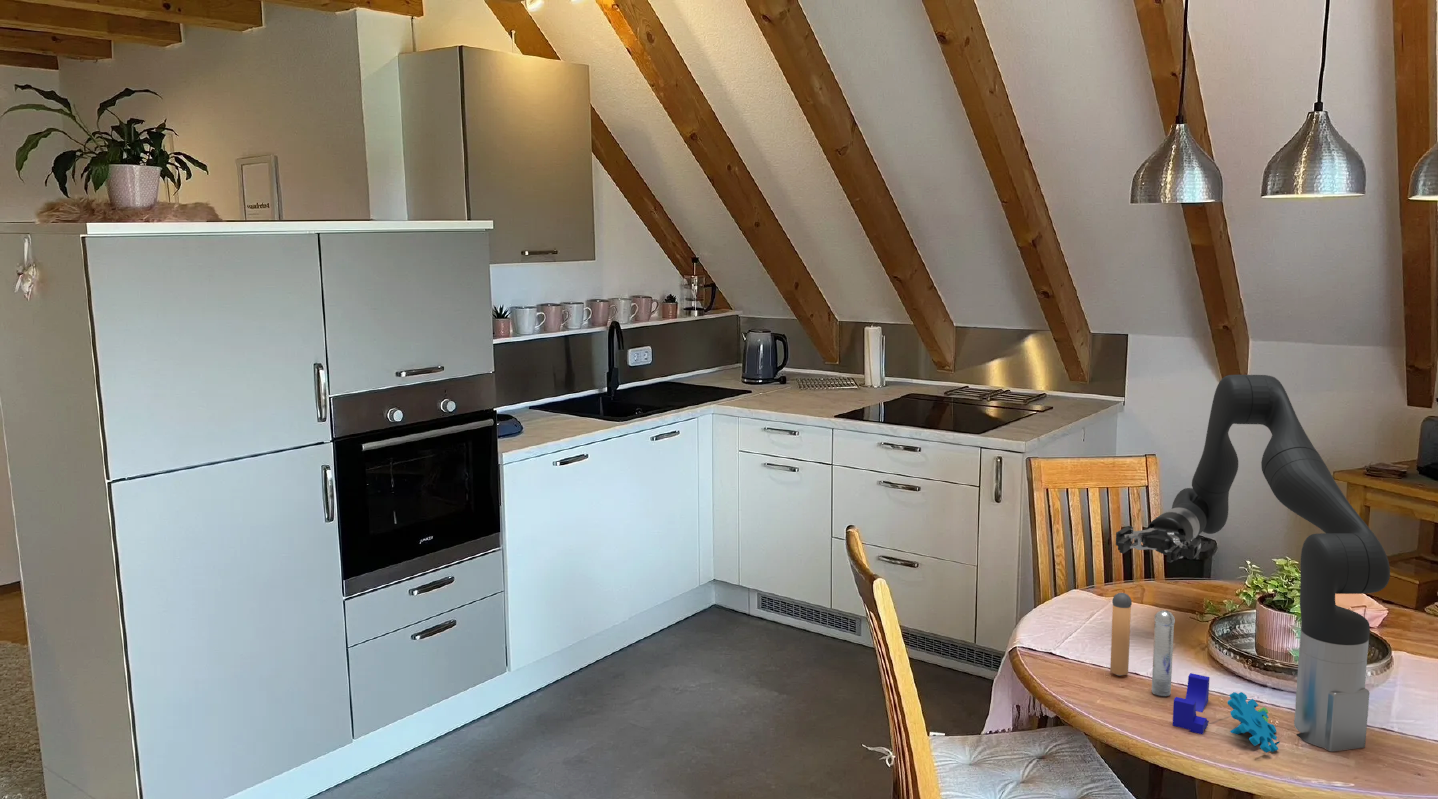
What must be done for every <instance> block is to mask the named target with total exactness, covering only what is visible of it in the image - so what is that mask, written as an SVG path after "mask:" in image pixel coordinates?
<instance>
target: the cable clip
mask: <svg viewBox="0 0 1438 799" xmlns="http://www.w3.org/2000/svg"><path fill="white" fill-rule="evenodd" d="M1209 692H1210V676H1207V675H1200V674H1196V673H1192V672H1191V673H1189V675H1188V677H1187V687H1186V692H1185V693H1186V694H1185V698H1182V697H1178V696H1175V697H1174V699H1173V707H1172V709H1173V711H1172V727H1177V728H1180V729H1186V730H1188V731H1189V732H1191V733H1194V734H1198V735H1202V736H1203V735H1204V733H1205V730H1206V729H1207V727H1208V725H1209V722H1210V721H1209V720H1208V718H1207V717H1202V716H1199V715H1197V712H1198V713H1203V712H1204V710H1205V709H1206V706H1207V704H1208V702H1209V696H1210V693H1209Z"/></svg>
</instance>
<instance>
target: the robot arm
mask: <svg viewBox="0 0 1438 799" xmlns="http://www.w3.org/2000/svg"><path fill="white" fill-rule="evenodd" d="M1211 404H1212V405H1211V409H1210V414H1209V419H1208V425H1207V429H1206V430H1207V431H1206V435H1205V440H1204V442H1205V443H1204V446H1203V451H1202V454H1201V457H1200V459H1199V461H1198V465H1197V467H1196V469H1195V472H1194V474H1193V476H1192V480H1191V487H1187V488H1186V487H1185V488H1183V489H1182V490H1180V491H1179V492H1178V493H1177V494H1176V496H1175V497H1174V500H1173V502H1172V505H1171V509H1168V510H1166V511H1164V512H1163V513H1160V515H1159V516H1157V517H1155V518H1154V519H1152V521H1151V522H1150V523H1149V524H1148V525H1147V527H1146V529H1141V530H1134V527H1133V526H1132V525H1127V526H1125V527H1123V528H1122V529H1119V530H1118V531H1116V533H1115V546H1117V550H1118V551H1119V554H1125V553H1127V552H1128V551H1129V550H1131V549H1136V550H1137V551H1143V550H1145V551H1146V550H1151V551H1156V552H1158V553H1159V554H1163V555H1165V556H1166V562H1167V563H1173V562H1174V561H1178V560H1179V559H1184V557H1186V558H1187V559H1188V560H1194V559H1195V558H1197V556H1198V555H1199V554H1200V552H1201V549H1202V548H1201V547H1202V538H1201V537H1198V536H1200V535H1201V534H1202V533H1204V534H1206V535H1207V534H1208V535H1212V534H1217V533H1218V532H1219V531H1221V530H1222V529H1223V528H1224V527H1225V525H1226V523H1227V520H1228V517H1229V509H1230V508H1229V495H1230V494H1229V493H1230V490H1231V488H1232V486H1233V483H1234V481H1235V478H1236V476H1237V473H1238V471H1239V458H1238V454H1237V451H1236V449H1235V446H1234V445H1233V442H1232V440H1231V439H1230V434H1229V431H1230V429H1231V427H1232V426H1233V425H1234V424H1236V425H1263V426H1265V427H1266V428H1268V430H1269V431H1270V433H1271V437H1270V439H1269V441H1268V444H1267V445H1266V446H1265V449H1264V451H1263V454H1262V458H1261V462H1260V463H1261V472H1262V474H1263V476H1264V478H1265V480H1266V482H1267V485H1268V486H1269V487H1270V489H1271V492H1272V494H1273V495H1274V496H1275V498H1276V499H1277V500H1278V501H1279V503H1281V504H1282V505H1283V506H1284V507H1286V508H1288V509H1287V510H1289V511H1291V512H1293V513H1294V514H1295V515H1298V516H1300V517H1301V518H1302V519H1304V520H1305V521H1307V522H1309V523H1310V524H1312V525H1314V526H1315V527H1317V528H1319V530H1321V531H1322V532H1324V533H1322V532H1321V533H1313V534H1309V535H1308V536H1307V537H1306V539H1305V540H1304V542H1303V545H1302V548H1301V553H1300V585H1299V586H1300V588H1299V590H1300V592H1299V593H1300V594H1299V609H1300V619H1301V622H1300V634H1299V636H1300V638H1299V649H1298V663H1297V664H1298V665H1297V678H1296V679H1297V680H1296V692H1295V704H1294V705H1295V706H1294V721H1293V722H1294V724H1293V725H1294V727H1295V729H1296V731H1298V732H1299V733H1296V736H1297V737H1298V738H1299V739H1300V740H1303V741H1304V742H1306V743H1309V744H1311V745H1314V746H1317V747H1319V748H1323V749H1325V750H1327V751H1328V752H1338V751H1347V750H1355V749H1364V748H1366V739H1367V727H1368V715H1369V703H1370V702H1369V701H1370V690H1369V689H1367V688H1366V676H1367V666H1368V664H1367V662H1368V653H1369V640H1370V632H1371V631H1370V629H1371V627H1370V622H1369V621H1368V619H1367V618H1366V617H1364V616H1363V615H1362V614H1360V613H1358V612H1356V611H1355V610H1354V611H1353V610H1351V609H1348V608H1345V607H1343V606H1342V607H1341V606H1340V605H1336V595H1337V594H1338V595H1344V594H1345V595H1355V594H1356V595H1360V594H1361V595H1363V594H1365V595H1366V594H1374V593H1378V592H1380V591H1382V590H1383V589H1385V588H1386V587H1387V585H1388V584H1389V581H1390V579H1391V568H1390V562H1389V558H1388V556H1387V554H1386V551H1385V548H1384V547H1383V545H1382V543H1381V541H1380V540H1379V539H1378V537H1377V536H1376V535H1375V534H1374V532H1373V531H1372V530H1371V529H1370V527H1369V526H1368V525H1367V523H1366V522H1365V521H1364V520H1363V518H1361V517H1362V516H1360V515H1359V513H1358V512H1357V511H1356V510H1355V509H1354V508H1353V506H1352V505H1351V503H1350V501H1348V499H1347V497H1346V496H1345V494H1344V493H1343V491H1342V490H1341V488H1340V487H1339V485H1338V484H1337V482H1336V480H1335V479H1334V477H1333V475H1332V473H1331V472H1330V470H1329V467H1328V466H1327V464H1326V463H1325V461H1324V460H1323V459H1322V457H1321V454H1319V452H1318V451H1317V449H1316V448H1315V447H1314V444H1313V443H1312V442H1311V440H1310V438H1309V436H1308V435H1307V433H1306V432H1305V429H1304V428H1303V426H1302V424H1301V422H1300V420H1299V418H1298V416H1297V414H1296V411H1295V410H1294V407H1293V405H1292V402H1291V400H1290V397H1289V396H1288V393H1287V391H1286V389H1285V387H1284V386H1283V384H1282V383H1281V381H1280V380H1279V379H1278V378H1276V377H1275V376H1272V375H1268V374H1228V375H1226V376H1224V377H1223V378H1221V379H1220V380H1219V382H1218V384H1217V386H1216V389H1215V391H1214V396H1213V400H1212V403H1211Z"/></svg>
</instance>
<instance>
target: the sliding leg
mask: <svg viewBox="0 0 1438 799" xmlns="http://www.w3.org/2000/svg"><path fill="white" fill-rule="evenodd" d="M1111 602H1112V611H1111V612H1112V614H1111V616H1112V617H1111V618H1112V619H1111V641H1110V642H1111V644H1110V663H1109V664H1110V666H1109V667H1110V669H1109V671H1110V673H1112V674H1114V675H1116V676H1118V677H1122V676H1125V675H1128V674H1129V663H1130V662H1129V661H1130V636H1131V615H1132V614H1131V610H1132V604H1133V601H1132V599H1131V596H1129V595H1128V594H1127V593H1125V592H1118V593H1116V594H1115V595H1114V596H1113V597H1112V601H1111Z"/></svg>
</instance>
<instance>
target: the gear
mask: <svg viewBox="0 0 1438 799" xmlns="http://www.w3.org/2000/svg"><path fill="white" fill-rule="evenodd" d="M1229 698H1230V699H1228V700H1227V702H1226V703H1227V705H1228V706H1229V707H1230V708H1231V709H1232V710H1230V716H1231V718H1232V719H1234V720H1237V721H1238V722H1239V724H1238V725H1237V727H1235V728H1233V729H1231V730H1230V731H1229V732H1230V733H1231V734H1233V735H1241V734H1245V733H1249V734H1250V735H1252V736H1250V737H1249V738H1248V740H1249V741H1250V744H1252V745H1253V746H1254V747H1255V746H1258V745H1259V744H1260V745H1259V748H1260V749H1261V751H1263V752H1264V753H1266V754H1268V753H1269V752H1271V753H1274V751H1275V752H1277V751H1279V747H1278V746H1277V745H1278V744H1280V743H1281V741H1280V740H1279V741H1277V738H1278V736H1276V735H1275V734H1276V733H1277V728H1276V726H1275V725H1274V724H1272V723H1269V715H1268V714H1269V710H1268V709H1267V708H1266V707H1265V706H1263V707H1262V708H1260V709H1259V710H1257V709H1256V708H1257V707H1258V706H1259V704H1258V703H1257V702H1256V701H1255V699H1254V698H1252V699H1249V700H1248V701H1247V699H1248V696H1247V694H1245V693H1244V692H1243V691H1240V692H1239V693H1238V692H1237V691H1235V692H1232V693H1230V694H1229ZM1273 740H1275V741H1276V742H1275V741H1273Z"/></svg>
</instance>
